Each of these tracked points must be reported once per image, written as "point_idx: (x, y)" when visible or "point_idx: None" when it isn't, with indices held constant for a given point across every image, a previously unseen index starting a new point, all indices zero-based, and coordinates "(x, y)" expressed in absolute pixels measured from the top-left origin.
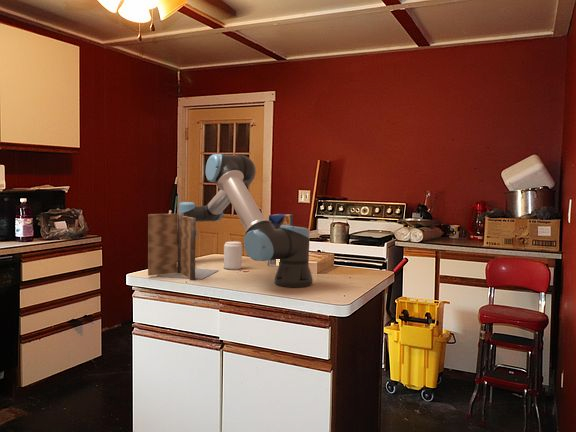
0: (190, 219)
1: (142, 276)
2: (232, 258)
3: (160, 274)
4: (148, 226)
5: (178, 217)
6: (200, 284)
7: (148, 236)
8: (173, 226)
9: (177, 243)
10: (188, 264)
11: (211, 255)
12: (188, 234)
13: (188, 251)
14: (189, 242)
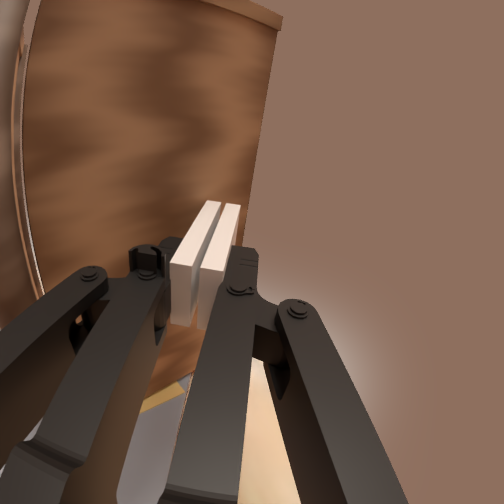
0: (22, 51)
1: (256, 367)
2: None
3: (176, 386)
4: (263, 91)
5: (27, 2)
6: (37, 270)
7: (251, 157)
8: (65, 85)
9: (28, 281)
10: (34, 288)
11: None
12: (11, 136)
13: (20, 230)
14: (14, 177)
